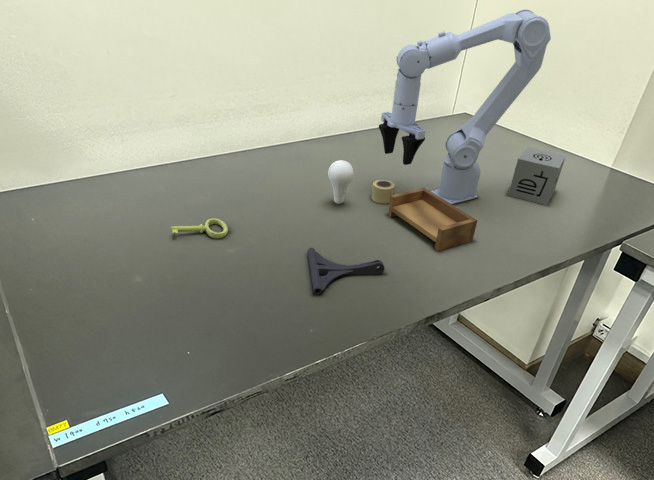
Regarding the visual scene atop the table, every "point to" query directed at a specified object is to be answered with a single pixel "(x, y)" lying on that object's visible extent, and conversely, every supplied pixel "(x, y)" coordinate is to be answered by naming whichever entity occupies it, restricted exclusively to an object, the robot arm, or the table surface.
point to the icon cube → (536, 175)
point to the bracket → (336, 270)
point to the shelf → (433, 217)
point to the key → (203, 228)
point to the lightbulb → (340, 179)
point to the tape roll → (382, 191)
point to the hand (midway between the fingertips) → (397, 158)
